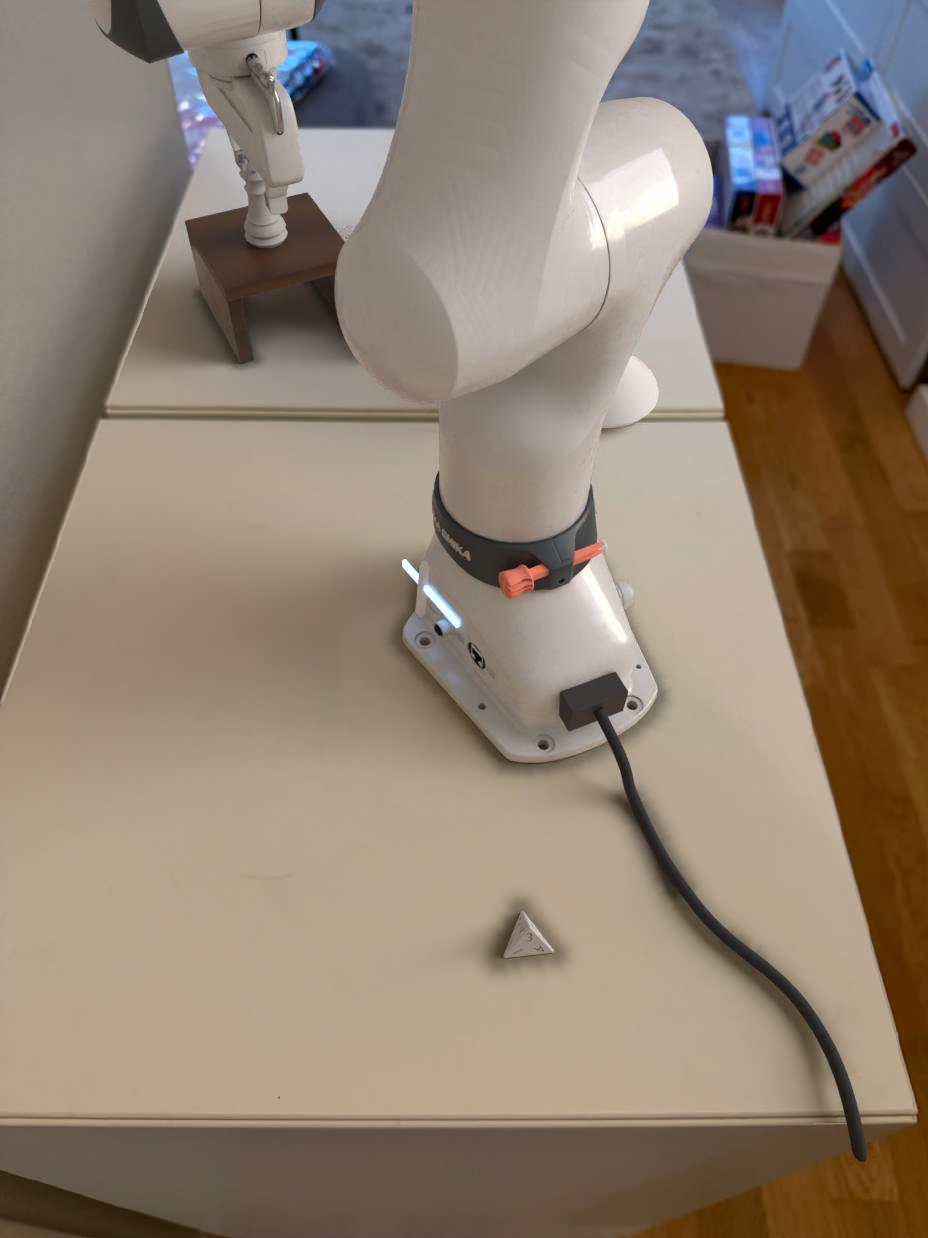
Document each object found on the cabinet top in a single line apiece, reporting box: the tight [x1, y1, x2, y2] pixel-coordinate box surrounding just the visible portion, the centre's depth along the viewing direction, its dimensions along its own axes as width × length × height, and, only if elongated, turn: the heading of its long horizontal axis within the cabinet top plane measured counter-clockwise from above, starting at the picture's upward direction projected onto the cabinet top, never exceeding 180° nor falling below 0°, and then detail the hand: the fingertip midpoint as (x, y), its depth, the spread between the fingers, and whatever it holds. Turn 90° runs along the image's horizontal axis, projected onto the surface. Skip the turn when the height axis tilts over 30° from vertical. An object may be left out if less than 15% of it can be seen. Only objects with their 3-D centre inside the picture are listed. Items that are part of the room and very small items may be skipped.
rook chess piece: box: [238, 159, 288, 248], centre depth 94 cm, size 4×4×8 cm
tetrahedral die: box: [502, 910, 555, 959], centre depth 61 cm, size 4×3×3 cm
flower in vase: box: [602, 354, 659, 429], centre depth 86 cm, size 13×11×25 cm
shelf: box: [184, 191, 346, 365], centre depth 100 cm, size 14×14×9 cm
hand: (261, 188), depth 92 cm, fingers open, 8 cm apart
